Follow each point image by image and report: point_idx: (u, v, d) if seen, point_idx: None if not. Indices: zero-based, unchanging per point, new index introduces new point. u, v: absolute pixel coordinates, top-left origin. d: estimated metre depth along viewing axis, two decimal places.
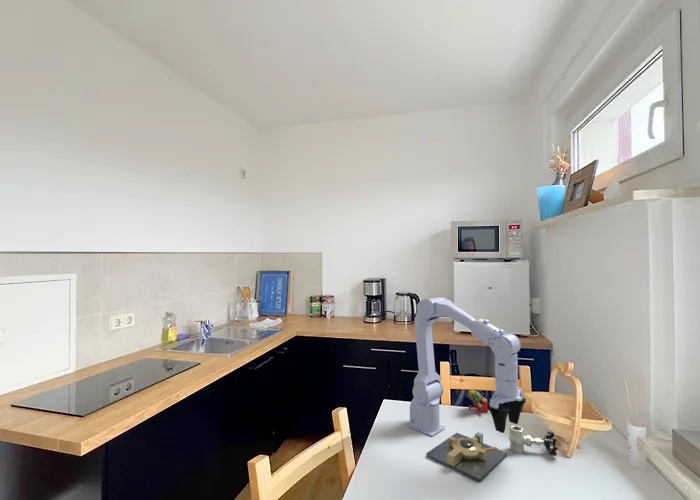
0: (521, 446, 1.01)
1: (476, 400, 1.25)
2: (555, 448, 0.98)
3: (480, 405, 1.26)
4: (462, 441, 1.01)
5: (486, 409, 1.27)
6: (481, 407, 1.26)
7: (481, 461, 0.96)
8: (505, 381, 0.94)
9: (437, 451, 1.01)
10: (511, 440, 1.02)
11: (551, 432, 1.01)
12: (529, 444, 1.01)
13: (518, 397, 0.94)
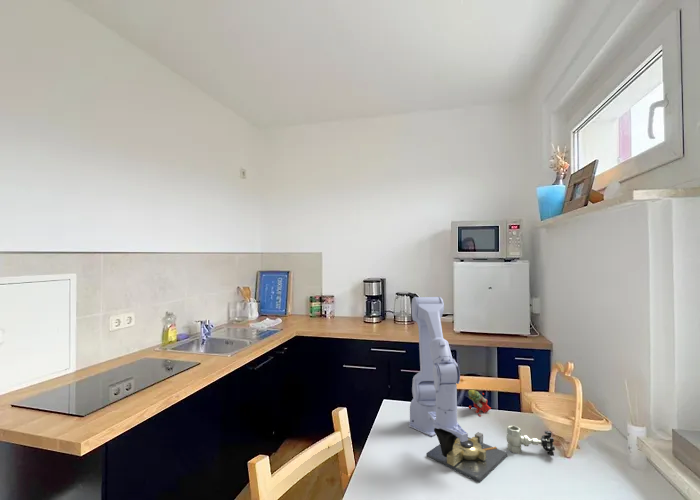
0: (518, 446, 1.01)
1: (476, 400, 1.25)
2: (552, 448, 0.98)
3: (480, 405, 1.26)
4: None
5: (486, 409, 1.27)
6: (481, 407, 1.26)
7: (481, 461, 0.96)
8: None
9: (437, 451, 1.01)
10: (508, 440, 1.02)
11: (548, 432, 1.01)
12: (526, 444, 1.01)
13: (436, 424, 0.96)
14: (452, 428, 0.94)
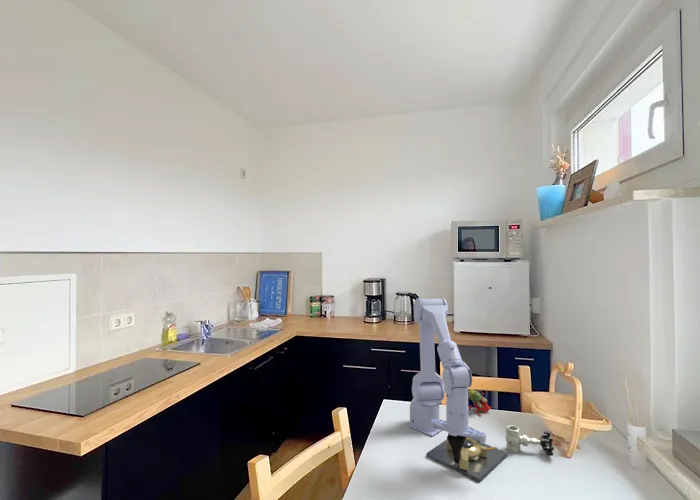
0: (517, 446, 1.01)
1: (476, 400, 1.25)
2: (551, 448, 0.98)
3: (480, 405, 1.26)
4: None
5: (486, 409, 1.27)
6: (481, 407, 1.26)
7: (481, 461, 0.96)
8: (446, 410, 0.95)
9: (437, 451, 1.01)
10: (507, 440, 1.02)
11: (547, 432, 1.01)
12: (525, 444, 1.01)
13: (452, 432, 0.92)
14: (468, 432, 0.92)
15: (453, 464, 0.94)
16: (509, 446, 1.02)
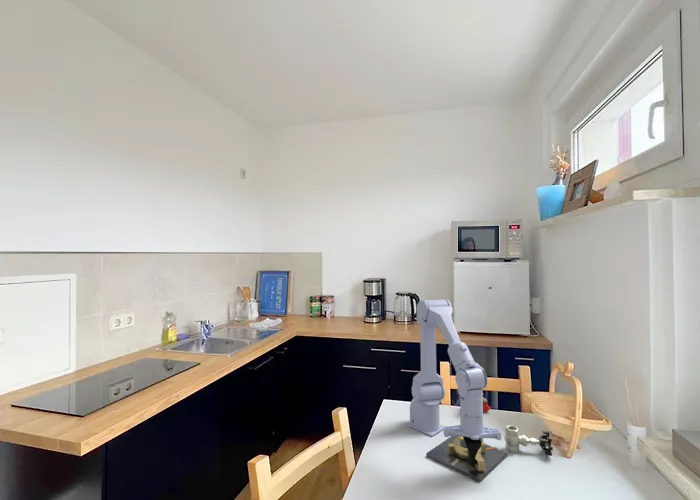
0: (516, 446, 1.01)
1: None
2: (550, 448, 0.98)
3: None
4: (463, 443, 1.00)
5: (486, 409, 1.27)
6: None
7: None
8: (462, 414, 0.92)
9: (437, 451, 1.01)
10: (506, 440, 1.02)
11: (547, 432, 1.01)
12: (524, 444, 1.01)
13: (474, 435, 0.89)
14: (484, 432, 0.92)
15: (453, 464, 0.94)
16: (508, 446, 1.02)
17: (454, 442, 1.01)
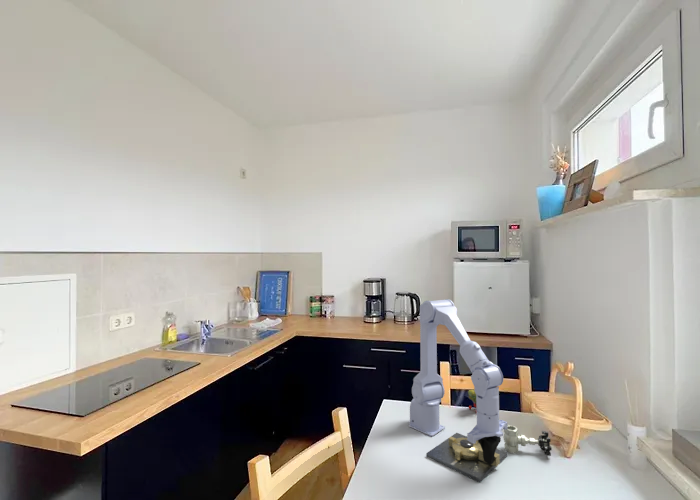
0: (515, 446, 1.01)
1: None
2: (549, 448, 0.98)
3: None
4: (465, 444, 0.99)
5: None
6: None
7: (481, 461, 0.96)
8: (484, 415, 0.92)
9: (437, 451, 1.01)
10: (505, 440, 1.03)
11: (545, 432, 1.01)
12: (523, 444, 1.01)
13: (498, 432, 0.91)
14: None
15: (453, 464, 0.94)
16: (507, 446, 1.02)
17: (456, 446, 0.99)
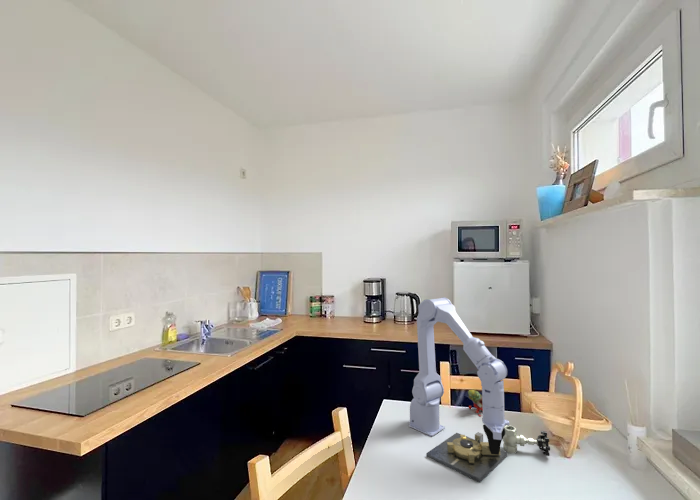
0: (514, 446, 1.02)
1: (476, 400, 1.25)
2: (548, 448, 0.98)
3: (480, 405, 1.26)
4: (468, 445, 0.99)
5: None
6: (481, 407, 1.26)
7: (481, 461, 0.96)
8: (498, 408, 0.95)
9: (437, 451, 1.01)
10: (504, 439, 1.03)
11: (544, 432, 1.01)
12: (522, 444, 1.01)
13: (506, 421, 0.97)
14: None
15: (453, 464, 0.94)
16: (506, 446, 1.03)
17: (463, 450, 0.97)
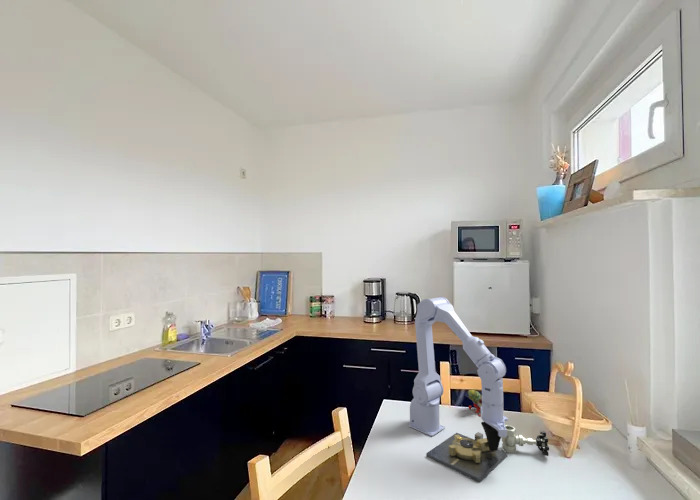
0: (513, 446, 1.02)
1: (476, 400, 1.25)
2: (547, 448, 0.98)
3: (480, 405, 1.26)
4: (469, 444, 0.99)
5: None
6: None
7: (481, 461, 0.96)
8: (499, 406, 0.97)
9: (437, 451, 1.01)
10: (503, 439, 1.03)
11: (543, 432, 1.01)
12: (521, 444, 1.01)
13: (504, 417, 1.00)
14: None
15: (453, 464, 0.94)
16: (505, 446, 1.03)
17: (467, 451, 0.97)
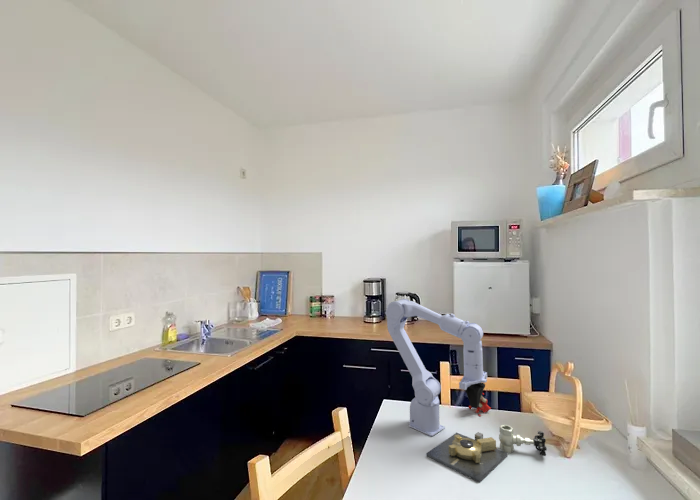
0: (510, 445, 1.02)
1: None
2: (544, 448, 0.98)
3: (480, 405, 1.27)
4: (469, 444, 0.99)
5: (486, 409, 1.28)
6: (481, 407, 1.27)
7: (481, 461, 0.96)
8: (472, 365, 1.07)
9: (437, 451, 1.01)
10: (500, 439, 1.03)
11: (541, 432, 1.01)
12: (518, 444, 1.01)
13: (483, 379, 1.07)
14: None
15: (453, 464, 0.94)
16: (502, 445, 1.03)
17: (467, 451, 0.97)
